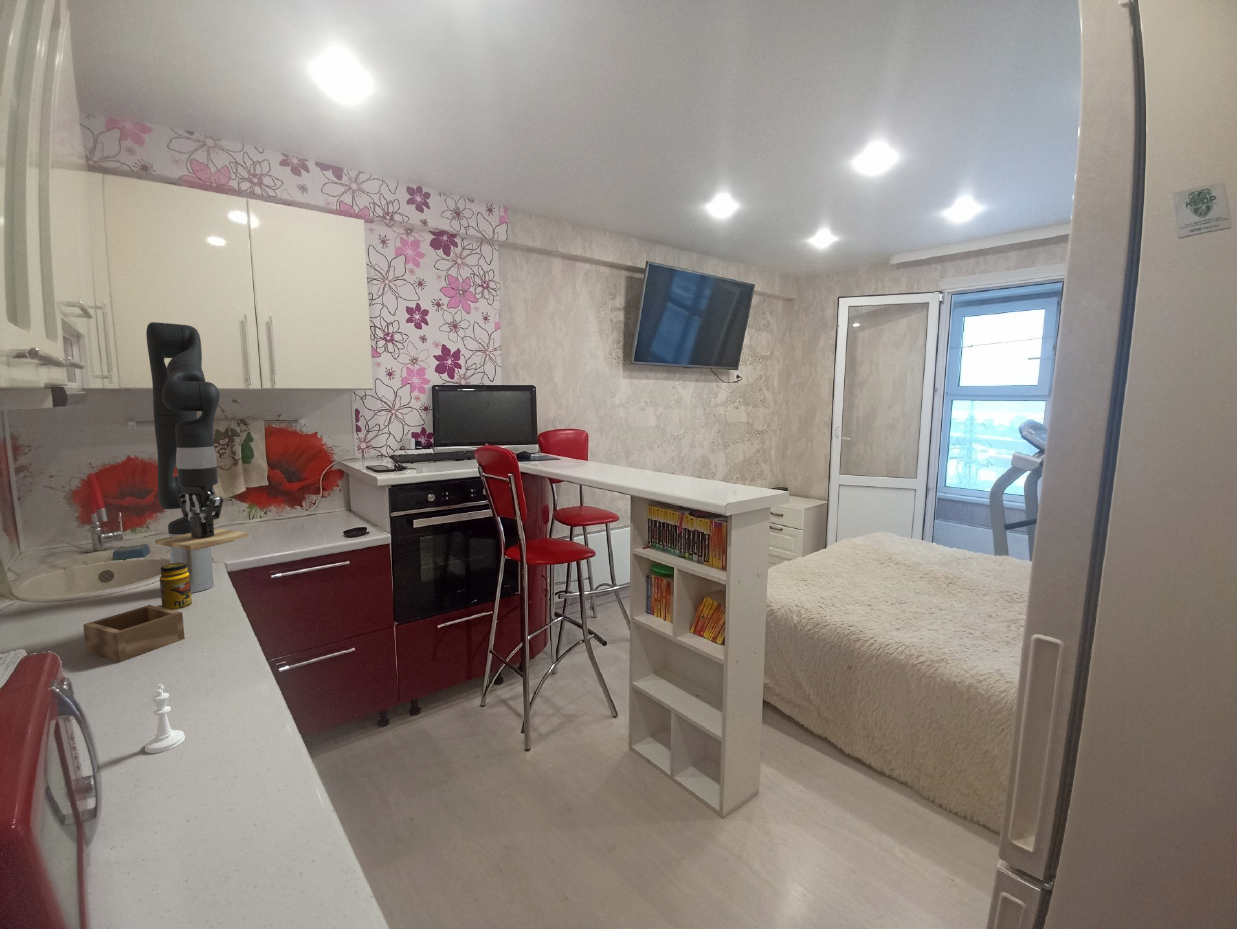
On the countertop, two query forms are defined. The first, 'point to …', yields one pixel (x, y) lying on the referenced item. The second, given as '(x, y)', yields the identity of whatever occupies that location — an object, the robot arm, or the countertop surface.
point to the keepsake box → (133, 633)
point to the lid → (200, 537)
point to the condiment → (175, 586)
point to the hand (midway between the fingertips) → (202, 535)
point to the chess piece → (163, 726)
